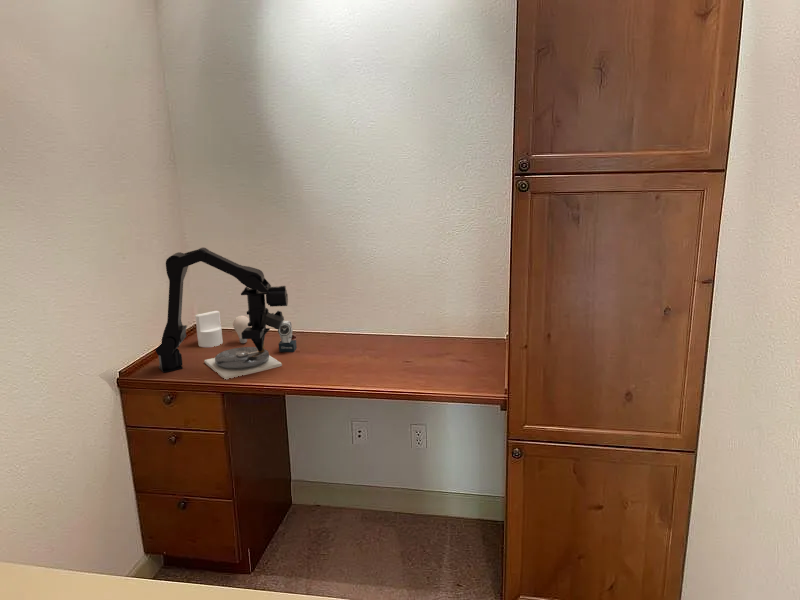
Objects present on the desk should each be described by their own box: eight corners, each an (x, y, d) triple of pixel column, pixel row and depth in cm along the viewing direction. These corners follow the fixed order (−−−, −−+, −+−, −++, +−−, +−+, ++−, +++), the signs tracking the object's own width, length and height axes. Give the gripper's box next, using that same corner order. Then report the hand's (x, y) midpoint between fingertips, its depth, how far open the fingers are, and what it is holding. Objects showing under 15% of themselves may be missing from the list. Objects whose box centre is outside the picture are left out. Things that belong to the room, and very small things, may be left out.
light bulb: (254, 340, 234) (252, 313, 231) (248, 346, 228) (246, 318, 225) (238, 340, 235) (235, 313, 232) (232, 346, 228) (229, 318, 226)
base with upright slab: (204, 348, 226) (201, 318, 223) (194, 343, 232) (191, 313, 229) (226, 343, 232) (224, 313, 229) (216, 338, 238) (213, 309, 235)
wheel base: (225, 379, 195) (224, 375, 195) (204, 362, 211) (204, 358, 211) (281, 366, 207) (281, 361, 206) (258, 350, 222) (258, 347, 222)
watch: (277, 353, 219) (275, 324, 216) (283, 346, 227) (281, 318, 224) (292, 353, 219) (291, 324, 216) (298, 346, 226) (296, 318, 224)
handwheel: (226, 373, 196) (224, 354, 195) (207, 358, 210) (206, 340, 209) (277, 360, 206) (276, 342, 205) (256, 347, 221) (255, 330, 219)
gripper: (273, 314, 194) (276, 360, 198) (287, 299, 212) (290, 342, 216) (239, 314, 194) (243, 360, 198) (255, 300, 212) (259, 342, 216)
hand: (260, 350), depth 207 cm, fingers closed
